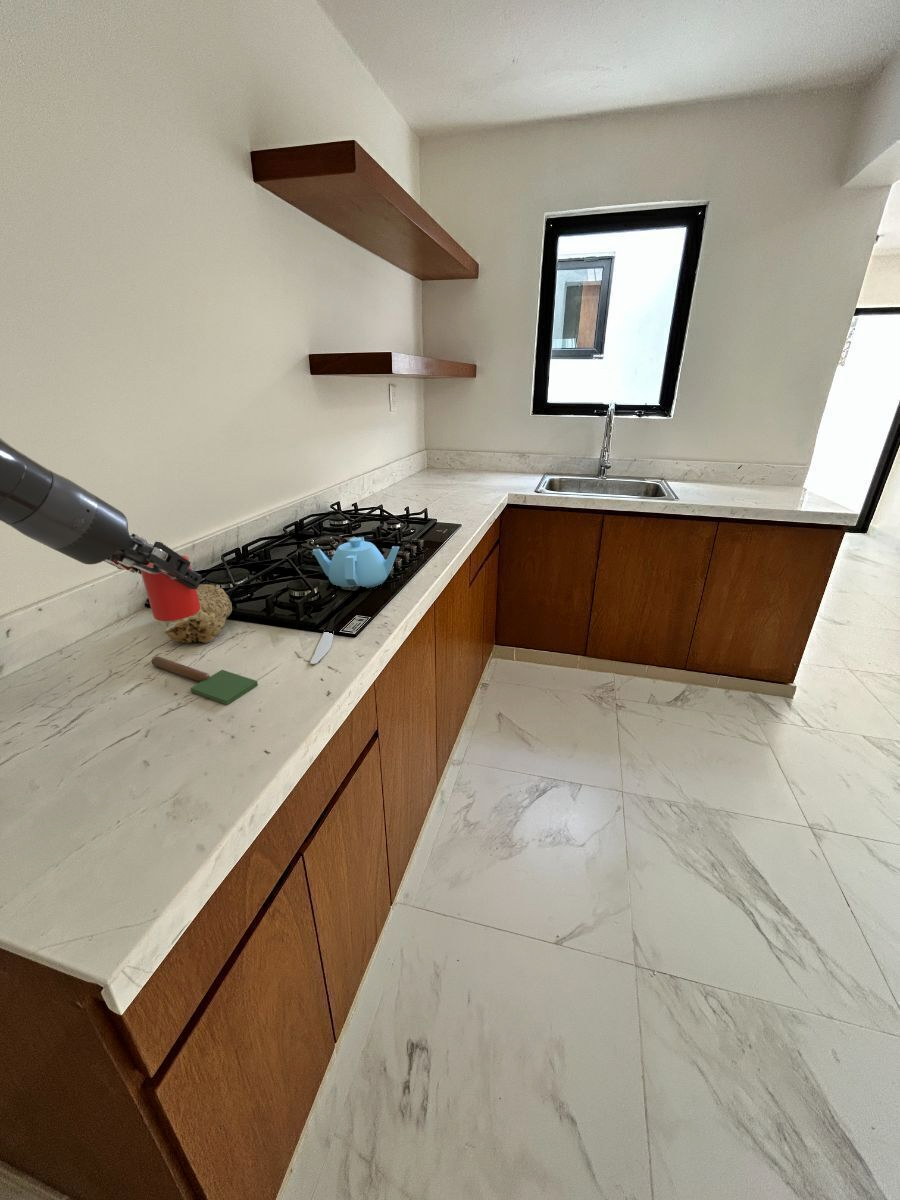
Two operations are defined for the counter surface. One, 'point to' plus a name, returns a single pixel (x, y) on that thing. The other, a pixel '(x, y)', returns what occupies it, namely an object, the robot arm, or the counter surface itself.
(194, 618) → the sponge
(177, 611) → the pepper
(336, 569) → the teapot
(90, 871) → the counter surface
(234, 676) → the spatula
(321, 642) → the butter knife
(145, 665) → the counter surface
